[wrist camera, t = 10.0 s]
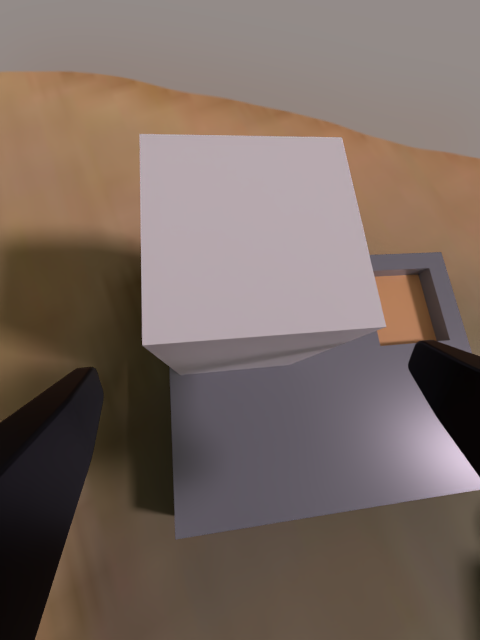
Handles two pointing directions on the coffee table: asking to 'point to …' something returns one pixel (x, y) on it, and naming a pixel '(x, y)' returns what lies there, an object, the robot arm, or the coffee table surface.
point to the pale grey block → (250, 251)
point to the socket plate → (322, 420)
